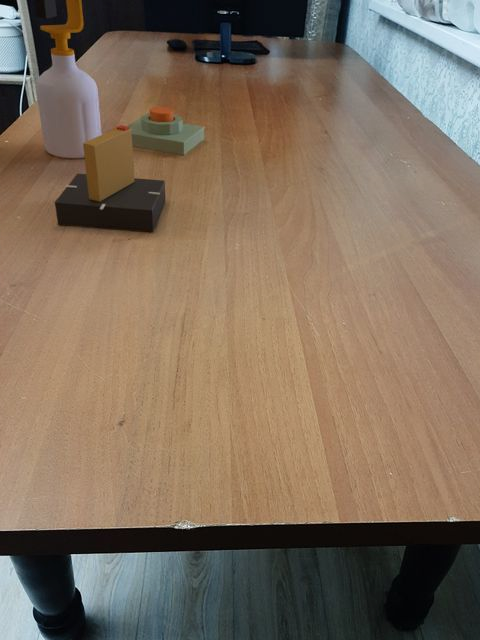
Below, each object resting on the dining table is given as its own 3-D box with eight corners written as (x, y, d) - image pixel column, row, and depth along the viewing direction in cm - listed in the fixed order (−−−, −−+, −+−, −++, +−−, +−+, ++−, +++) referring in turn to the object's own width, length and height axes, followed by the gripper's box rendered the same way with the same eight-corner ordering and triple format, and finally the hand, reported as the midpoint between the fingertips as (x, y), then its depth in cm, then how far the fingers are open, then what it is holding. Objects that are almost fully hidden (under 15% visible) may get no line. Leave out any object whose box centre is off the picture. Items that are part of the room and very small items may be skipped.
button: (146, 121, 97) (145, 111, 96) (155, 116, 100) (155, 105, 99) (168, 125, 96) (167, 114, 95) (177, 119, 99) (176, 109, 98)
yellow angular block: (99, 202, 71) (93, 143, 66) (88, 199, 71) (82, 140, 67) (134, 181, 77) (131, 126, 72) (124, 179, 77) (120, 124, 73)
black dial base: (54, 228, 71) (50, 204, 69) (81, 191, 81) (78, 169, 79) (152, 236, 71) (151, 212, 69) (167, 198, 81) (166, 176, 79)
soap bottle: (35, 146, 93) (6, -33, 79) (86, 138, 99) (68, -32, 84) (61, 163, 88) (34, -25, 74) (113, 153, 94) (98, -24, 79)
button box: (118, 144, 97) (116, 120, 95) (143, 129, 105) (142, 106, 103) (183, 155, 95) (183, 131, 93) (204, 139, 103) (204, 116, 101)
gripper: (89, -218, 64) (104, 20, 79) (-15, -228, 66) (18, 7, 80) (54, -234, 58) (77, 26, 73) (-59, -244, 60) (-15, 12, 74)
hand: (46, 16), depth 76 cm, fingers closed
